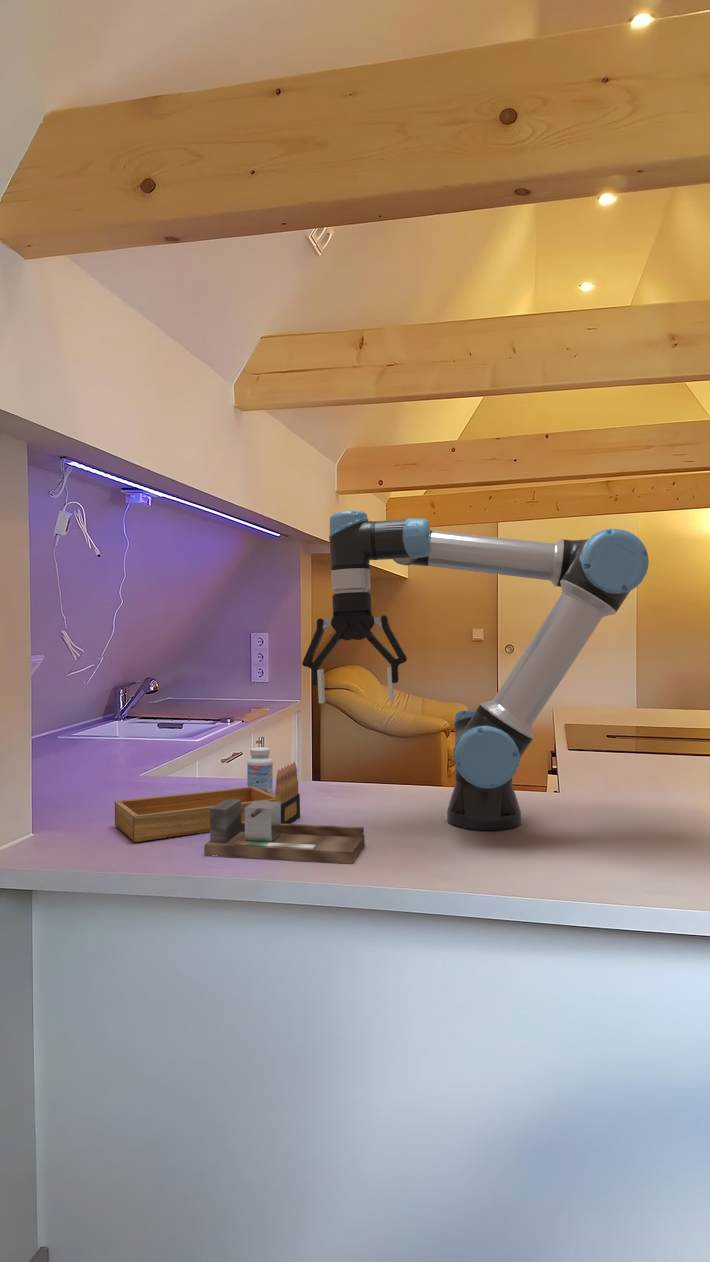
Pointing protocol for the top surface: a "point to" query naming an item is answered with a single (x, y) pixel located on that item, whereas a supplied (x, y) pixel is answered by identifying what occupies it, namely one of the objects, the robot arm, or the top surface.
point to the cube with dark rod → (262, 821)
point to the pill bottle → (260, 769)
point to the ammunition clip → (288, 794)
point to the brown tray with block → (282, 839)
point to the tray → (178, 812)
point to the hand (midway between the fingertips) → (356, 701)
